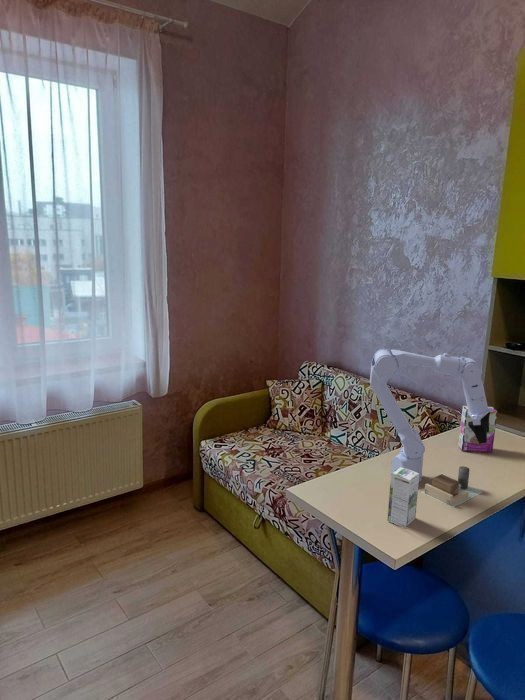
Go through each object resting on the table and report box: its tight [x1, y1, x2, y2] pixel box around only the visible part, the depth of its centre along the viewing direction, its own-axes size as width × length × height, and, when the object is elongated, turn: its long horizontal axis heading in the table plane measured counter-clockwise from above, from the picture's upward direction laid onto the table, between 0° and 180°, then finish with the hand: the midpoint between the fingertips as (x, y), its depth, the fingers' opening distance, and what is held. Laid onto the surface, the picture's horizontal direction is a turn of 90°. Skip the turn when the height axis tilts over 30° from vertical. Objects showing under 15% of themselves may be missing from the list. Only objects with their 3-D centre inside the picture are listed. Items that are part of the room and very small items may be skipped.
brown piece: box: [431, 466, 470, 497], centre depth 149 cm, size 13×6×6 cm, turn 125°
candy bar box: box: [457, 405, 498, 453], centre depth 180 cm, size 11×5×16 cm, turn 84°
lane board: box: [420, 478, 484, 509], centre depth 149 cm, size 16×11×4 cm
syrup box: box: [387, 467, 420, 529], centre depth 133 cm, size 6×6×14 cm
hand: (484, 437), depth 152 cm, fingers open, 7 cm apart
